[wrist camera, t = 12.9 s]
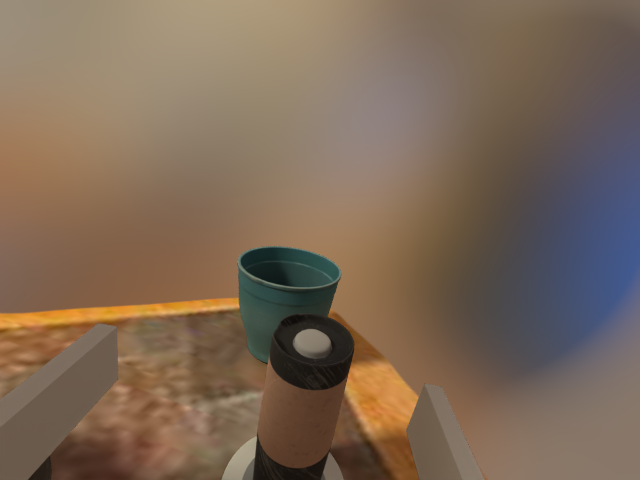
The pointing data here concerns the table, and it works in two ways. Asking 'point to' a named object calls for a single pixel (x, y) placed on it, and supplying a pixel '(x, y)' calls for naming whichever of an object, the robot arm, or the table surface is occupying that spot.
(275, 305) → the flower pot
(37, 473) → the coffee can
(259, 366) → the table surface
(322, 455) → the travel mug
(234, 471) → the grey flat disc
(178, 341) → the table surface
